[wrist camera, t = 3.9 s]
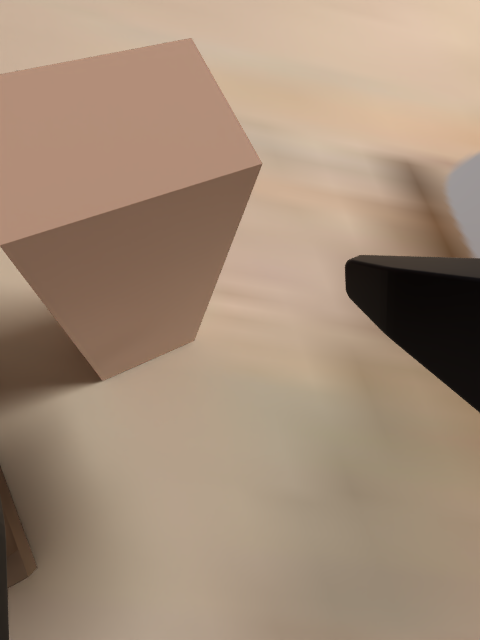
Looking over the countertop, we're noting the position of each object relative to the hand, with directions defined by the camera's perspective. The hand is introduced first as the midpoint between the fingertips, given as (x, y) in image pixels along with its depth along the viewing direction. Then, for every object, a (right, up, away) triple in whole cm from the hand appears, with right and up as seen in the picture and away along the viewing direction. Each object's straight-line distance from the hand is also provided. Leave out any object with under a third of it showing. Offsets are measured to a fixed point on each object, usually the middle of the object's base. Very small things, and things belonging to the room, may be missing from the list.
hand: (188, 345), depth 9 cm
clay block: (-4, 0, +10) cm, 11 cm away
